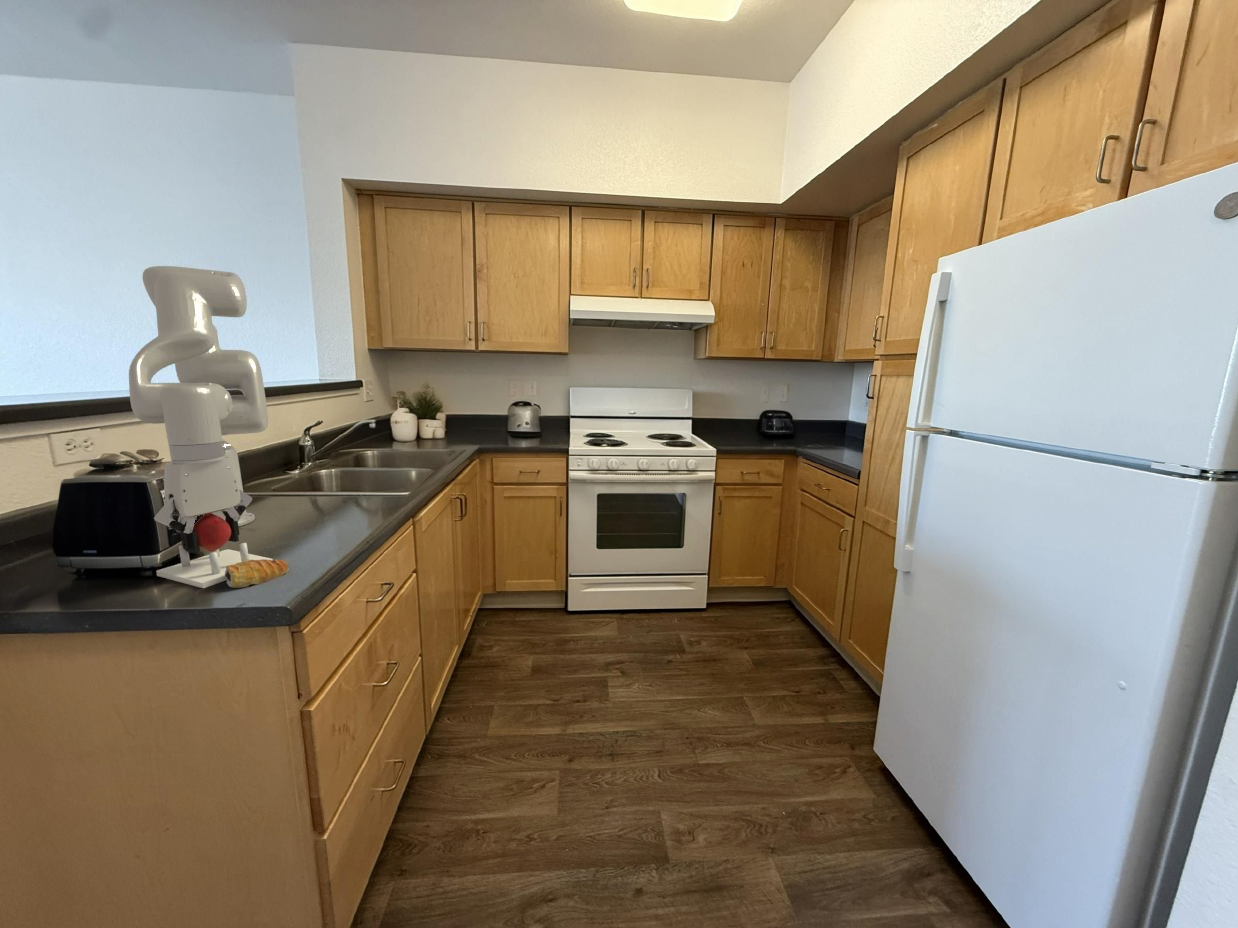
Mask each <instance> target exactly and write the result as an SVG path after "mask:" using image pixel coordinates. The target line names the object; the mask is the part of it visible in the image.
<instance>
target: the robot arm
mask: <svg viewBox="0 0 1238 928" xmlns="http://www.w3.org/2000/svg"><path fill="white" fill-rule="evenodd" d="M142 282H143V286H144V288H145V291H146V293H147V295H148V297H149V299H150V301H151V303H152V304H153V305H154V307H155V310H156V311H155V312H156V324H157V326H156V327H157V336H156V337H155V338H153V339H152V340H150V341H149V342H148V343H146V344H145V345H143V347H142V348H140V349H139V351H137V353H136V354H135V355H134V357H133V359H132V360H131V362H130V365H129V370H128V383H129V385H128V387H129V388H128V389H129V401H130V406H131V409H132V412H133V414H134V415H135V417H136V418H137V419H138V420H139V421H141V422H144V423H146V424H155V425H156V424H159V425H160V424H164V428H165V432H166V438H167V444H168V451H169V456H170V461H171V462H166V463H165V464H164V465H165V467H164V474H163V475H164V477H163V481H164V482H163V486H164V487H163V490H164V491H163V492H164V502H165V504H164V505H163V506H162V507H161V509H160V510H159V511H158V512H157V514H156V515H155V516H154V517H153V519H154V521H155V522H158V523H160V524H161V525H165V526H166V527H169V528H171V529H173V530H175V531H176V532H177V533H179V534H180V540H181V545H182V546H183V549H184V550H186V552H188V553H189V554H199V553H200V551H201V550H200V548H201V547H199V542H198V536H197V533H196V532H193V527H194V523H195V520H197V516H200V515H204V514H209V513H212V514H214V515H216V516H219V517H221V518H222V519H224V520H225V521H226V522H227V523H228V524H229V526H230V528H231V536H230V538H229V540H228V541H229V542H234V543H236V542H239V541H240V539H239V537H240V529H239V527H242V526H245V525H248V524H251V523H252V522H253V521H255V519H256V517H255V513H252V512H247V507H248V506H249V505H250V504H251V503H252V501H253V497H252V496H251V495H249V494H248V493H246V492H244V487H243V480H242V475H241V467H240V461H239V456H238V455H239V454H238V452H237V450H236V449H235V447H234V446H232V444H231V443H229V442H227V440H225V439H224V438H223V436H229V435H232V436H233V435H246V434H256V433H257V434H259V433H263V432H264V431H266V429H267V428H268V426H269V414H268V413H269V412H268V407H267V405H268V404H267V400H266V399H267V397H266V392H265V385H264V380H263V372H262V369H261V364H260V361H259V359H258V358H257V356H256V355H255V354H254V353H252V352H251V351H248V350H242V349H222V348H221V347H220V341H219V335H218V330H217V328H216V326H215V325H214V324H213V318H212V317H224V318H241V317H244V315H245V314H246V312H247V305H248V302H247V295H246V294H247V292H246V288H245V284H244V282H243V280H242V279H241V277H240V276H239V274H237V273H235V272H231V271H224V270H223V271H222V270H214V269H204V268H203V269H201V268H195V267H193V268H192V267H187V266H177V265H176V266H175V265H154V266H150V267H147V268H146V269H144V270H143V272H142ZM172 365H174V367H175V372H176V377H177V380H178V382H152V379H153V377H154V376H155V375H157V373H158V372H159V371H161V370H163V369H165V368H167V367H169V366H172ZM228 390H231V391H232V390H235V391H240V392H242V394H231V393H230V392H229V391H228ZM171 516H178V519H177V520H175V519H174V518H172V517H171ZM228 541H227V542H228Z"/></svg>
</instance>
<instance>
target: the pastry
mask: <svg viewBox="0 0 1238 928" xmlns="http://www.w3.org/2000/svg"><path fill="white" fill-rule="evenodd" d="M289 571H290V569H289V564H288V563H287V561H286V560H281V559H273V560H268V559H266V560H265V559H262V560H249V561H247V562H239V563H236V564H235V565H229V566H226V571H225V579H226V584H227V585H228V587H230V588H233V589H243V588H246V587H249V586H250V585H259V584H263V583H265V582H270V581H271V580H274V579H277V578H280V577H282V576H283V575H285V574H287V573H289Z"/></svg>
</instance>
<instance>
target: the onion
mask: <svg viewBox="0 0 1238 928" xmlns="http://www.w3.org/2000/svg"><path fill="white" fill-rule="evenodd" d="M193 532H196V533H197V536H198V542H199V548H202V549H203V550H204V549H205V550H207V551H208V552H209V553H210V552H214V551H216V550H218V549H219V550H220V548H222V547H223V546H224V545H225V544H226V543H227V542H228V540H229V538H230V536H231V528H230V526H229V524H228V523H227V522H226V521H225V520H224V519H222V518H221V517H219V516H216V515H214V514H212V513H209V514H204V515H203V517H201V518H200V519H199V520H198V521H197V522H196V523H195V524H194V527H193Z"/></svg>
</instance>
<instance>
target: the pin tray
mask: <svg viewBox="0 0 1238 928" xmlns="http://www.w3.org/2000/svg"><path fill="white" fill-rule="evenodd" d="M238 547H239V550H234V549H233V550H232V549H229V548H228V549H224V550H221V551H220V548H219V549H218V550H216V551H214V552H210V551H209V552H208V554H207V555H204V556H201V557H197V558H193V559H190V552H186V550H184V549H183V546H182V544H181V545H179V546H178V551H179V555H180V563H177V564H175V565H171V566H167V567H164V568H161V569H157V570H156V577H160V578H165V579H166V580H172V581H175V582H178V583H183V584H186V585H190V586H194V587H196V588H201V589H206V588H208V587H211V586H214V585H216V584H220V583H222V582H225V581H226V582H227V580H226V579H225V571H226V566H229V565H235V564H236V563H239V562H247V561H249V560H262V559H265V560H266V559H268V560H274V559H273V558H270V557H265V556H260V555H256V554H253V553H249V551H248V544H247V542H241V543H239V544H238Z"/></svg>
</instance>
